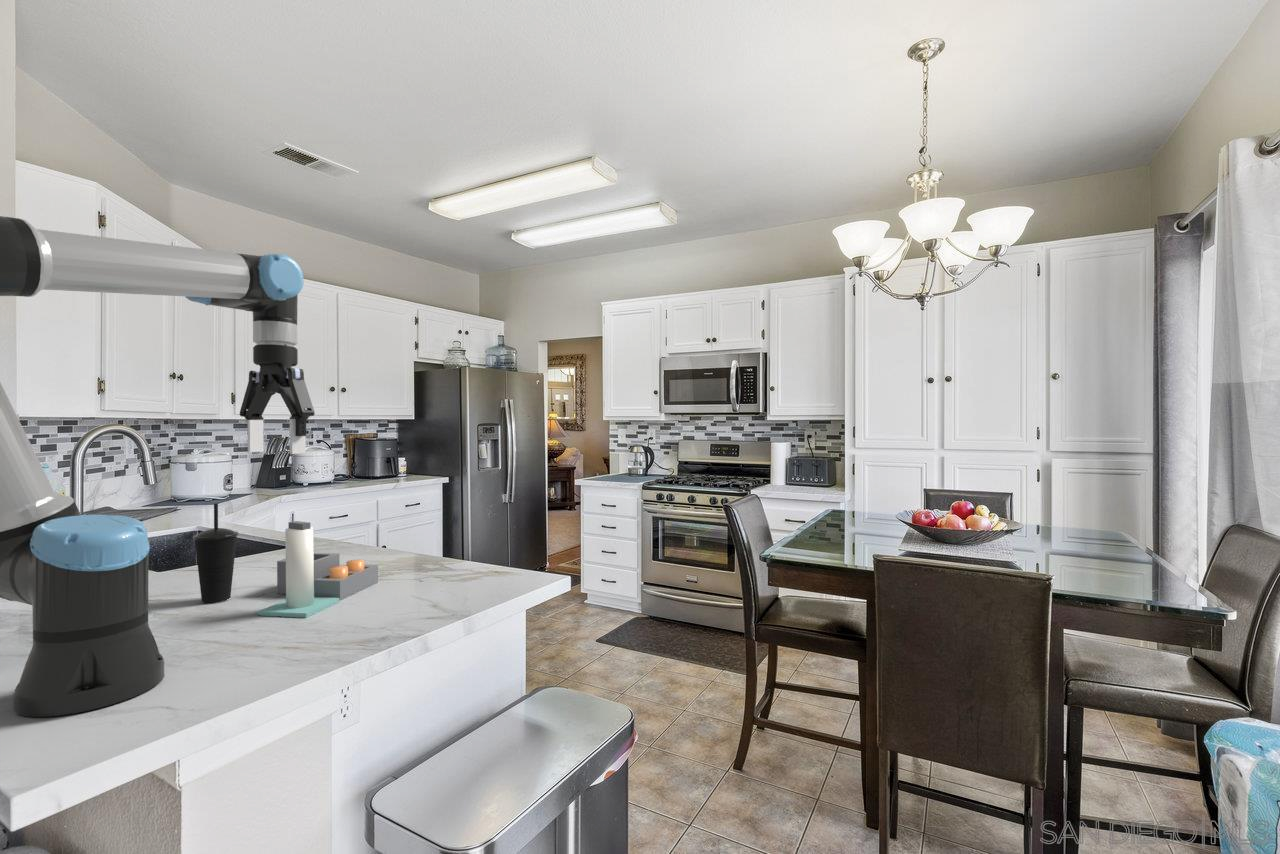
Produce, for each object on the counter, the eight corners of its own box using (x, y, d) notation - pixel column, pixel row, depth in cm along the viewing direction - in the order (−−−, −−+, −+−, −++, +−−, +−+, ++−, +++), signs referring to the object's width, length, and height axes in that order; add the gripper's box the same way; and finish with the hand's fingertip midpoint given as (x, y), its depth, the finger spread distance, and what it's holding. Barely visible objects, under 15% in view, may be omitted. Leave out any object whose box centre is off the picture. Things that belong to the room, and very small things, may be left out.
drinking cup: (221, 606, 120) (220, 506, 119) (183, 605, 120) (183, 506, 120) (247, 594, 127) (246, 501, 127) (211, 594, 127) (211, 501, 127)
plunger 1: (341, 593, 126) (341, 570, 126) (325, 593, 126) (325, 569, 126) (351, 589, 129) (351, 566, 129) (336, 588, 130) (336, 565, 130)
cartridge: (319, 602, 119) (318, 521, 119) (296, 609, 115) (295, 525, 115) (304, 599, 121) (303, 519, 121) (280, 606, 117) (279, 523, 117)
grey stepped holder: (340, 600, 123) (340, 566, 123) (267, 597, 125) (267, 564, 125) (378, 582, 137) (377, 551, 137) (312, 580, 139) (312, 550, 139)
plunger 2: (358, 586, 132) (358, 563, 132) (343, 585, 132) (342, 563, 132) (367, 581, 135) (367, 559, 135) (352, 581, 136) (352, 559, 136)
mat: (306, 617, 112) (306, 613, 112) (257, 615, 114) (257, 611, 114) (339, 601, 122) (339, 597, 122) (294, 600, 124) (294, 596, 124)
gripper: (334, 343, 116) (334, 453, 116) (257, 351, 127) (257, 450, 127) (297, 339, 109) (297, 455, 109) (219, 347, 121) (219, 452, 121)
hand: (276, 452), depth 118 cm, fingers open, 13 cm apart
